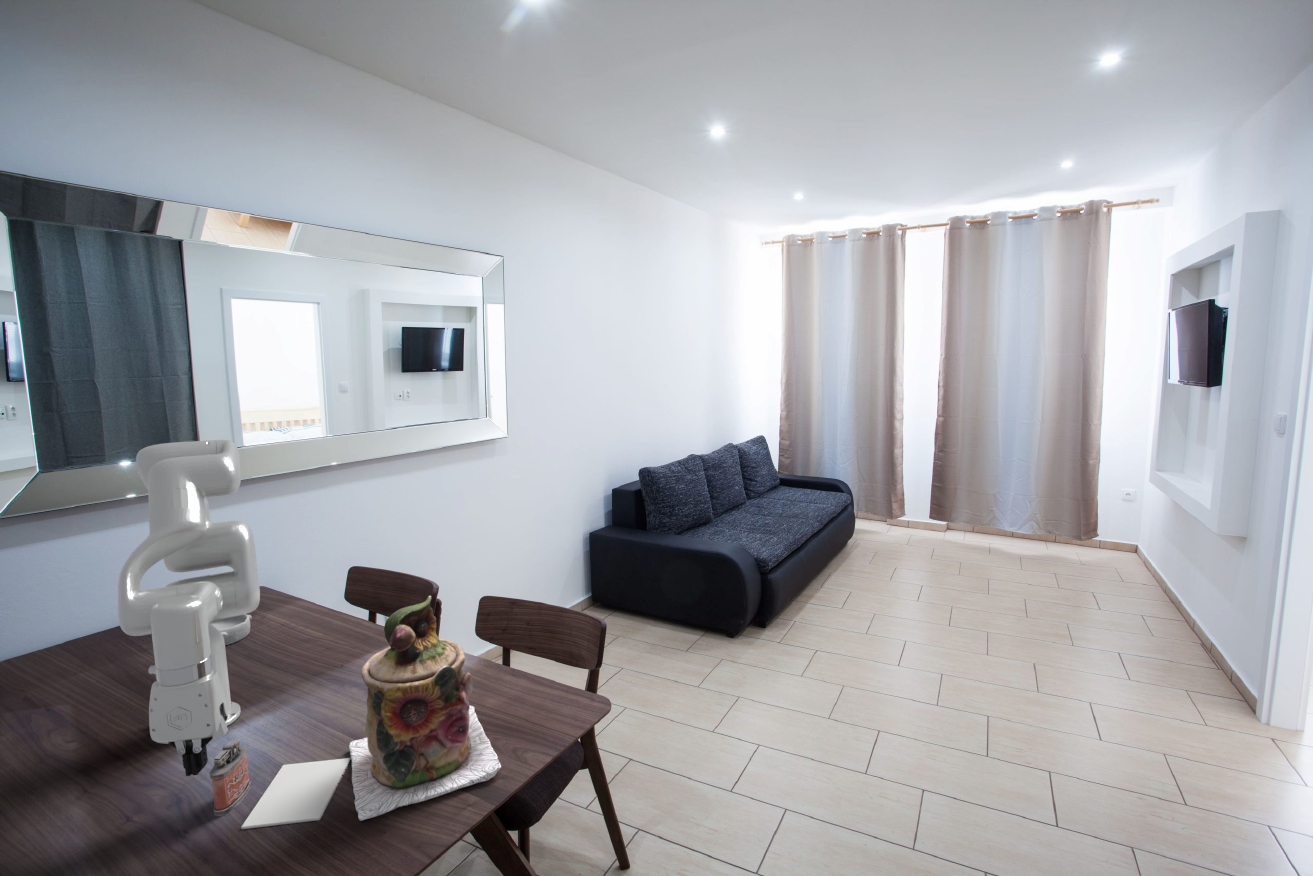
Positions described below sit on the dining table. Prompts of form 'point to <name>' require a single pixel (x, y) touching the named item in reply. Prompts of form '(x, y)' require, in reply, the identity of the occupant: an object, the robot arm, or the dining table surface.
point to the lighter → (230, 777)
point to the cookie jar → (417, 720)
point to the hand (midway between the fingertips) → (196, 770)
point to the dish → (233, 627)
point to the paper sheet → (298, 793)
